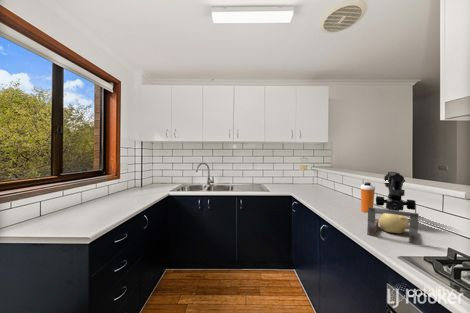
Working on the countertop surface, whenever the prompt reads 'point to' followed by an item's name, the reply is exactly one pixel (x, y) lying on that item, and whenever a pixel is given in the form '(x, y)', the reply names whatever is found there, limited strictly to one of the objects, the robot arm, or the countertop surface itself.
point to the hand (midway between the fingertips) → (394, 215)
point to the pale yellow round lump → (393, 223)
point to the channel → (413, 216)
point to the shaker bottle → (367, 196)
